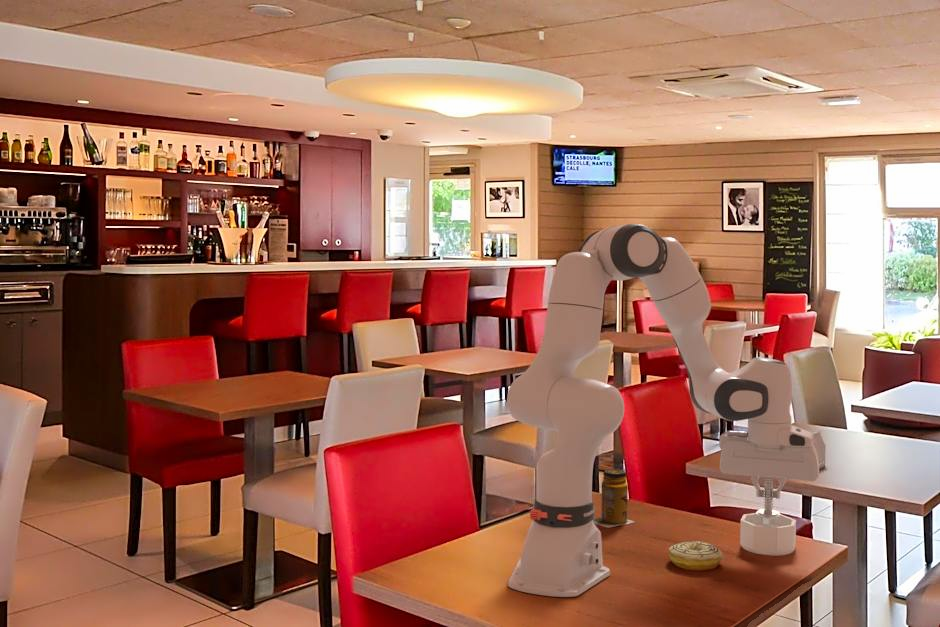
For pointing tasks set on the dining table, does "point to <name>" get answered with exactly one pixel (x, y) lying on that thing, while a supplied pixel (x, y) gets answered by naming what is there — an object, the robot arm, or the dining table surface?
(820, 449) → the white faceted block
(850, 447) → the dining table surface
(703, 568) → the decorated donut
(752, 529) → the white faceted bowl
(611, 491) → the condiment
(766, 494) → the screw
